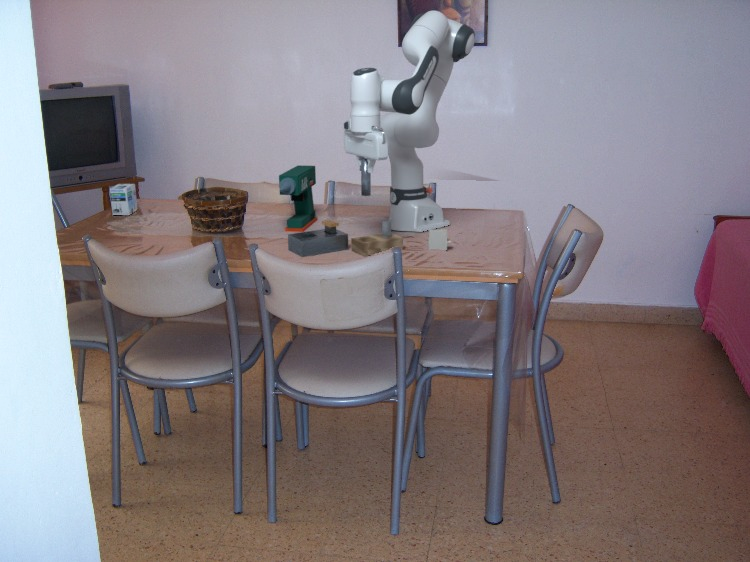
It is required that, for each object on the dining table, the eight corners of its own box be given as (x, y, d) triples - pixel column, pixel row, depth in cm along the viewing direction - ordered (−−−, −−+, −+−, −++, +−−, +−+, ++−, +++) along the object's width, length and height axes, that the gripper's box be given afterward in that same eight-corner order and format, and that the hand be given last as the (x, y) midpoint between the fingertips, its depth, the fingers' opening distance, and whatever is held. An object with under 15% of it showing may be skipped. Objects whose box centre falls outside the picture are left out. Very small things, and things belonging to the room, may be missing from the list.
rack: (389, 244, 252) (389, 217, 249) (403, 249, 245) (403, 221, 242) (351, 250, 245) (350, 222, 242) (364, 256, 238) (363, 227, 236)
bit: (367, 194, 240) (367, 157, 237) (372, 195, 237) (372, 159, 234) (359, 194, 238) (359, 158, 235) (364, 196, 236) (364, 159, 233)
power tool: (293, 241, 257) (290, 181, 251) (272, 240, 258) (269, 180, 252) (319, 220, 287) (317, 165, 281) (300, 219, 288) (298, 165, 282)
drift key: (331, 244, 252) (330, 219, 249) (339, 247, 247) (338, 222, 245) (322, 245, 250) (321, 221, 248) (330, 249, 246) (329, 224, 243)
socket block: (333, 242, 255) (332, 227, 253) (348, 249, 246) (348, 234, 245) (288, 249, 247) (287, 234, 245) (302, 257, 239) (301, 241, 237)
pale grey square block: (427, 250, 246) (427, 227, 244) (449, 250, 246) (450, 226, 244) (428, 253, 243) (428, 229, 241) (450, 252, 243) (451, 229, 241)
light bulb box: (129, 216, 297) (126, 188, 294) (112, 216, 297) (108, 188, 294) (138, 210, 307) (135, 183, 304) (121, 210, 307) (118, 183, 304)
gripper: (393, 127, 225) (393, 175, 229) (357, 121, 242) (358, 166, 246) (374, 128, 222) (375, 177, 226) (339, 122, 238) (340, 168, 243)
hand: (366, 171), depth 236 cm, fingers closed on bit, 3 cm apart
